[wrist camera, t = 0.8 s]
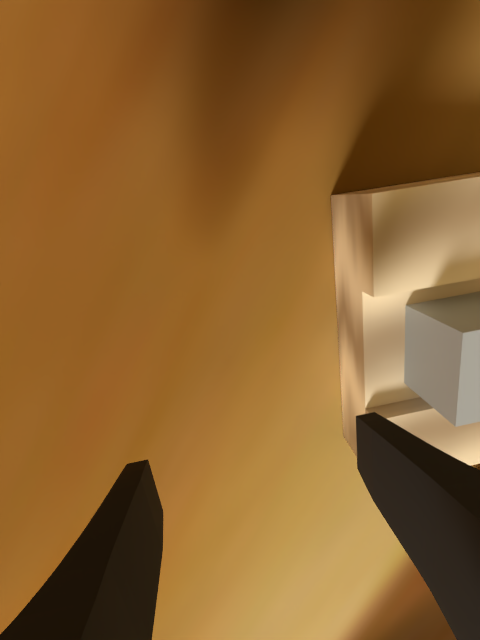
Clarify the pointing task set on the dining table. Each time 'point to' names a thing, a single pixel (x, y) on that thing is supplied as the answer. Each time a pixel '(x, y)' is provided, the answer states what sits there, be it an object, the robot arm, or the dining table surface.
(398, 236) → the grooved board
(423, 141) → the dining table surface
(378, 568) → the dining table surface
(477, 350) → the matte grey cube
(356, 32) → the dining table surface
